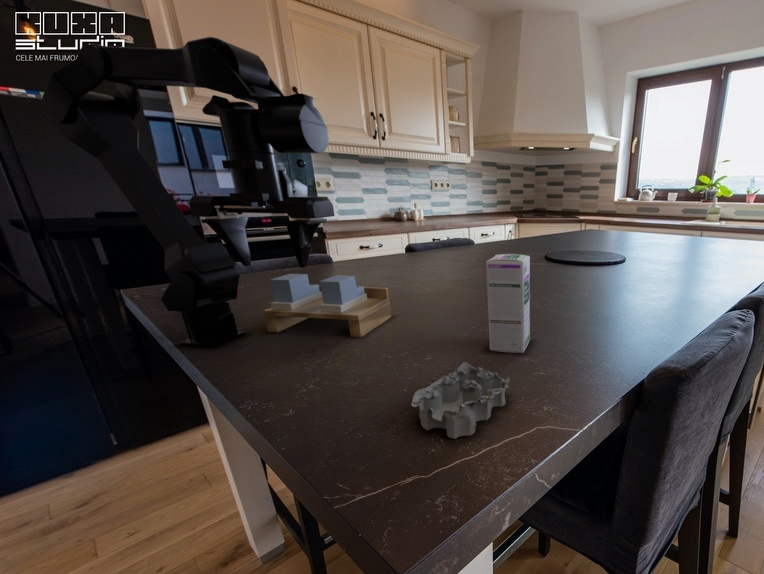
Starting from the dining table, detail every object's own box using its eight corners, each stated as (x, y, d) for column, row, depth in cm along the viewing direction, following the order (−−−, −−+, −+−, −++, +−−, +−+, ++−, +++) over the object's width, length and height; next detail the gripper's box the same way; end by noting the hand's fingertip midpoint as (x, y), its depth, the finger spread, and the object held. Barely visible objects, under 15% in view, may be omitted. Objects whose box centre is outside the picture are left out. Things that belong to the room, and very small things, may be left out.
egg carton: (462, 446, 39) (459, 410, 38) (406, 424, 43) (403, 391, 41) (515, 399, 48) (515, 369, 46) (466, 385, 51) (464, 356, 50)
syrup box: (524, 354, 61) (525, 260, 56) (487, 351, 62) (485, 258, 57) (530, 341, 67) (531, 254, 61) (496, 338, 68) (494, 253, 62)
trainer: (341, 312, 68) (336, 283, 66) (320, 311, 69) (314, 282, 67) (367, 299, 77) (363, 272, 75) (348, 298, 77) (344, 272, 75)
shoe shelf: (267, 332, 71) (260, 299, 69) (309, 312, 82) (304, 284, 80) (361, 337, 68) (356, 303, 66) (391, 316, 79) (388, 287, 77)
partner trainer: (291, 310, 69) (285, 281, 68) (271, 309, 70) (264, 280, 68) (323, 297, 78) (318, 271, 76) (304, 296, 78) (299, 270, 77)
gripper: (345, 158, 61) (358, 259, 67) (235, 158, 63) (257, 256, 69) (301, 151, 51) (321, 272, 56) (171, 151, 53) (202, 268, 58)
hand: (275, 266), depth 60 cm, fingers open, 9 cm apart
